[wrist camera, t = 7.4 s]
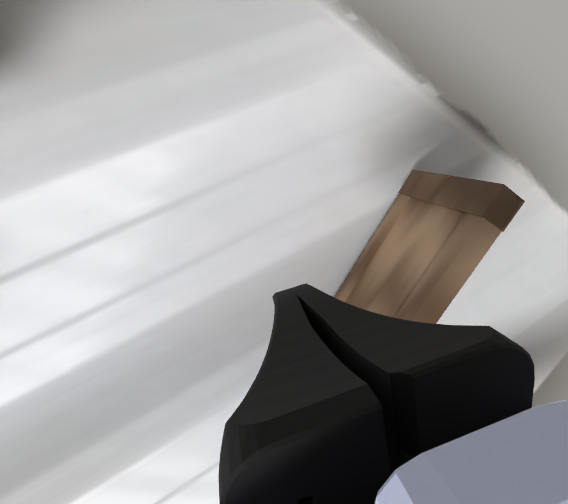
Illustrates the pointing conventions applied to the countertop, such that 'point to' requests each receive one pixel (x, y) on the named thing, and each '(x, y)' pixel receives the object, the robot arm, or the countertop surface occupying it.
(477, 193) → the gate
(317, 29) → the countertop surface
